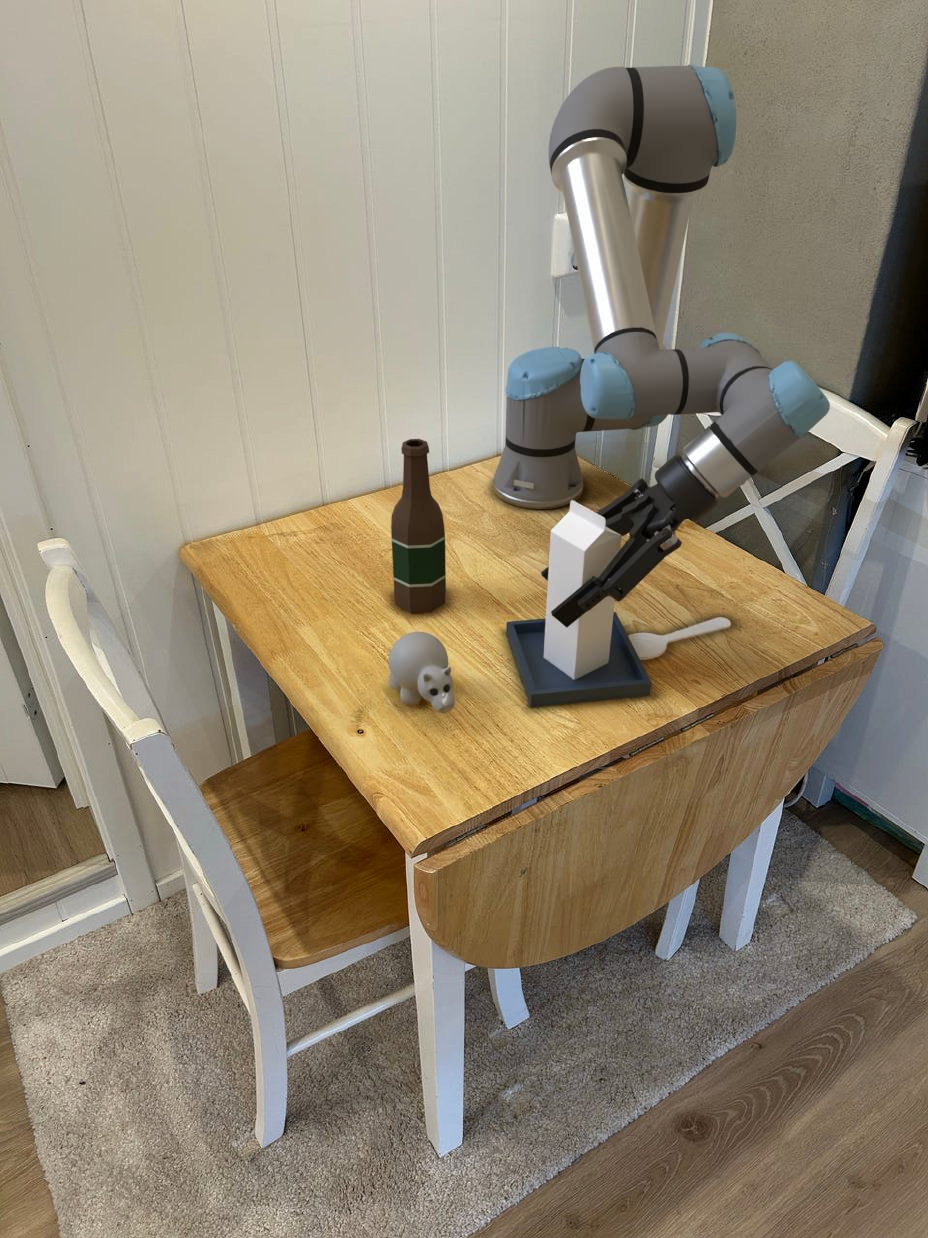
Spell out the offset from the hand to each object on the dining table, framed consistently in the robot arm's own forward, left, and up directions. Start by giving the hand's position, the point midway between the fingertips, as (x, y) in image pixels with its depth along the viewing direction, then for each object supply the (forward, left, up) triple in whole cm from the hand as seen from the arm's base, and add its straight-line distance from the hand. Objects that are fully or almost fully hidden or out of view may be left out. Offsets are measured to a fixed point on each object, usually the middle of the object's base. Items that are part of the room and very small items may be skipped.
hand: (553, 599), depth 117 cm
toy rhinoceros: (+5, -17, -10) cm, 20 cm away
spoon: (-3, +18, -11) cm, 21 cm away
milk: (0, +3, -10) cm, 10 cm away
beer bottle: (-18, -15, -10) cm, 25 cm away
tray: (0, +3, -10) cm, 11 cm away
